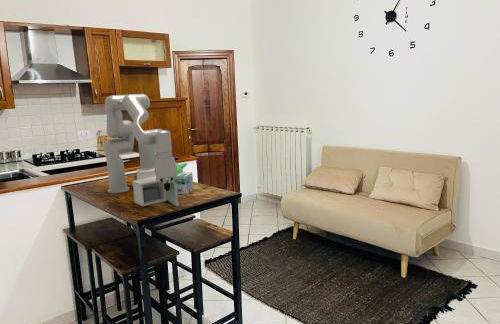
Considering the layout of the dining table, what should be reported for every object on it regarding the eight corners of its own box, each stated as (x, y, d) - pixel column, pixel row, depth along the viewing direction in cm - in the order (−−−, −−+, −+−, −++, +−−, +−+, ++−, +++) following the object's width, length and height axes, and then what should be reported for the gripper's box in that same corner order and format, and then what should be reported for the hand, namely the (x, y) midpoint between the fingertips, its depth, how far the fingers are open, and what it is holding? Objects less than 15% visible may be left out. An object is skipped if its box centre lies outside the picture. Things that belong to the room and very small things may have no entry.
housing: (134, 202, 202) (132, 180, 200) (158, 196, 211) (156, 176, 208) (142, 206, 194) (140, 183, 192) (166, 200, 203) (165, 179, 201)
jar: (147, 198, 209) (145, 171, 206) (134, 196, 215) (132, 170, 212) (161, 193, 218) (159, 168, 215) (148, 191, 223) (146, 166, 221)
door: (176, 206, 191) (174, 183, 189) (167, 200, 203) (165, 178, 200) (179, 205, 192) (178, 183, 190) (170, 199, 204) (168, 178, 201)
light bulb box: (187, 194, 213) (186, 176, 211) (176, 194, 215) (174, 176, 213) (193, 189, 224) (192, 171, 222) (183, 189, 225) (181, 171, 223)
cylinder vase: (164, 177, 258) (161, 141, 254) (152, 181, 247) (149, 144, 242) (149, 176, 264) (146, 140, 259) (137, 180, 252) (134, 143, 248)
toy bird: (166, 179, 251) (164, 158, 248) (189, 180, 246) (187, 158, 243) (152, 186, 234) (150, 163, 231) (177, 187, 229) (175, 164, 226)
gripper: (149, 157, 182) (153, 194, 186) (180, 154, 187) (183, 190, 191) (148, 155, 189) (151, 190, 193) (178, 152, 194) (180, 187, 198)
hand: (167, 190), depth 192 cm, fingers closed
